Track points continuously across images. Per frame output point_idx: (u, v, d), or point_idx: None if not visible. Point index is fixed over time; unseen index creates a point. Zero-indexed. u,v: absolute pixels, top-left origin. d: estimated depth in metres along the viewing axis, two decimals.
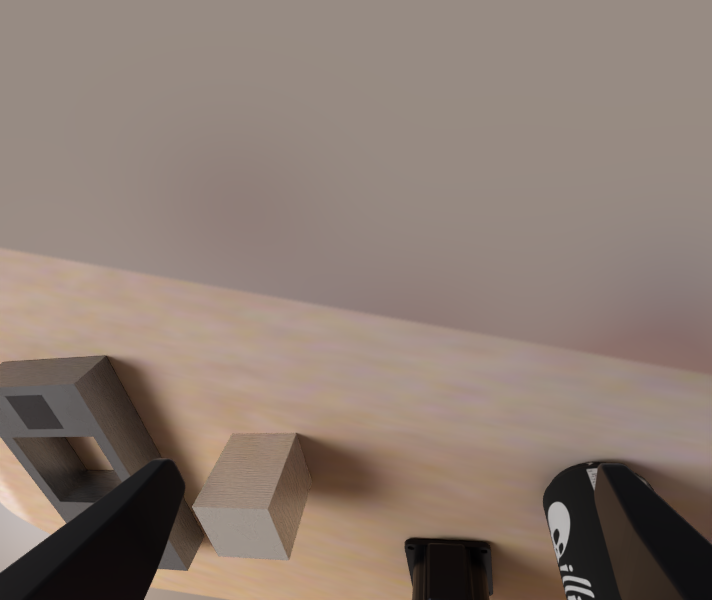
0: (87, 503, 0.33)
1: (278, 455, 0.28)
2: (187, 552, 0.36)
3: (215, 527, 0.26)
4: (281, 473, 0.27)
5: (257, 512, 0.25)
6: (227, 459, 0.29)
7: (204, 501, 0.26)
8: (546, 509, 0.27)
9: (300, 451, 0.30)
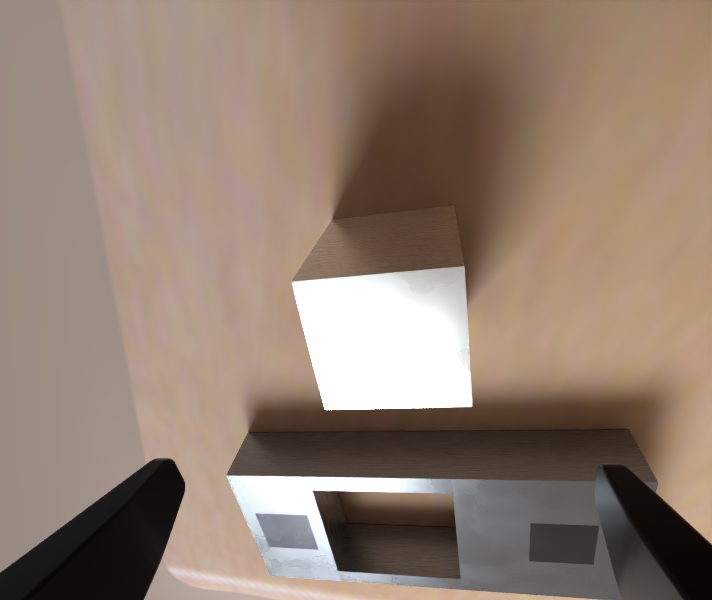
0: (460, 551, 0.22)
1: None
2: None
3: (375, 388, 0.14)
4: (313, 249, 0.15)
5: (305, 301, 0.13)
6: None
7: None
8: None
9: (368, 217, 0.17)
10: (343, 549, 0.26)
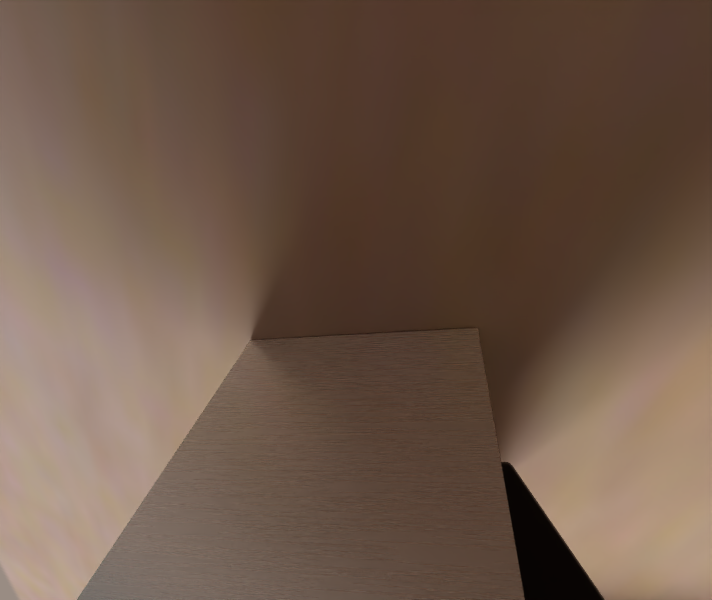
0: None
1: None
2: None
3: None
4: (171, 461, 0.07)
5: None
6: None
7: None
8: None
9: (313, 344, 0.09)
10: None
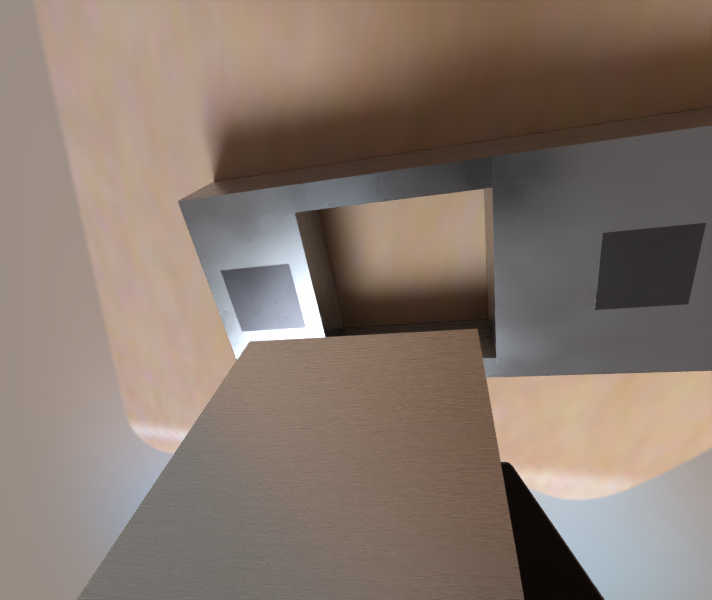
0: (499, 303, 0.16)
1: None
2: None
3: None
4: (168, 464, 0.07)
5: None
6: None
7: None
8: None
9: (312, 345, 0.09)
10: None
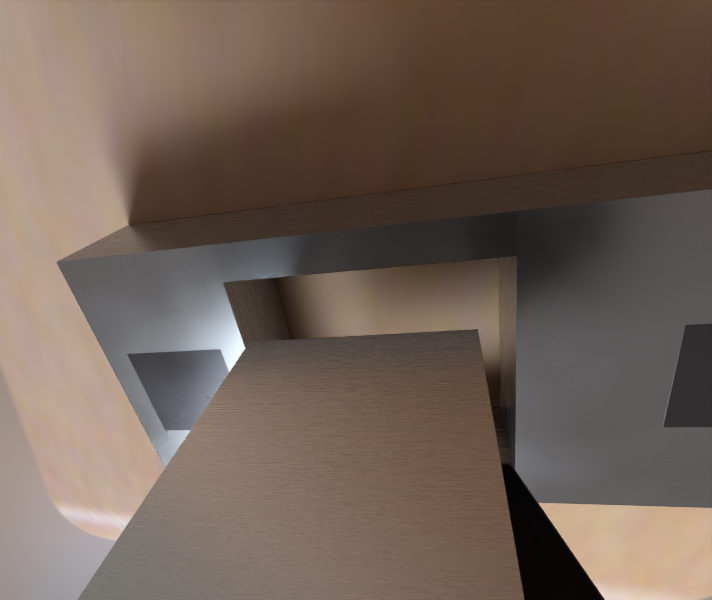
0: (521, 413, 0.11)
1: None
2: None
3: None
4: (169, 464, 0.07)
5: None
6: None
7: None
8: None
9: (312, 345, 0.09)
10: None
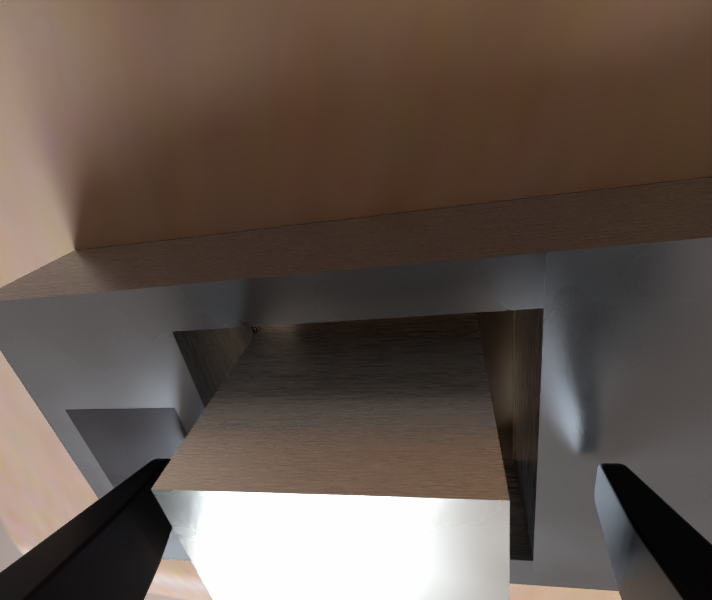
0: (543, 490, 0.09)
1: None
2: None
3: None
4: (227, 378, 0.08)
5: (186, 521, 0.06)
6: None
7: None
8: None
9: None
10: None
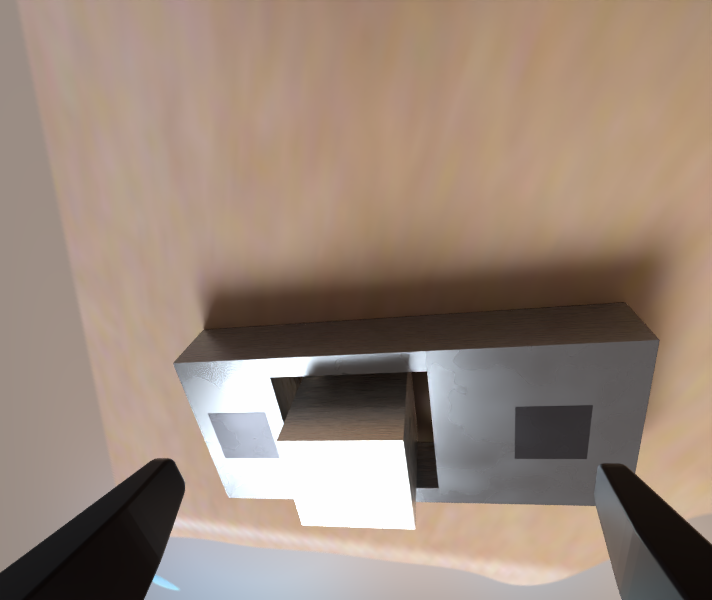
0: (438, 450, 0.19)
1: None
2: (615, 330, 0.16)
3: (341, 512, 0.18)
4: (294, 398, 0.19)
5: (287, 454, 0.17)
6: None
7: None
8: None
9: None
10: None
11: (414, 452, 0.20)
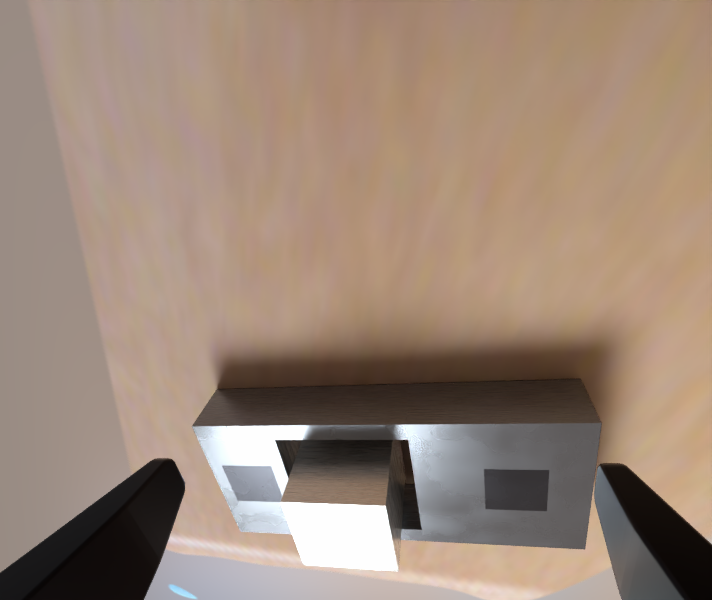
0: (420, 500, 0.23)
1: None
2: (566, 410, 0.19)
3: (335, 556, 0.21)
4: (296, 458, 0.22)
5: (289, 512, 0.20)
6: None
7: None
8: None
9: None
10: None
11: (400, 500, 0.23)
